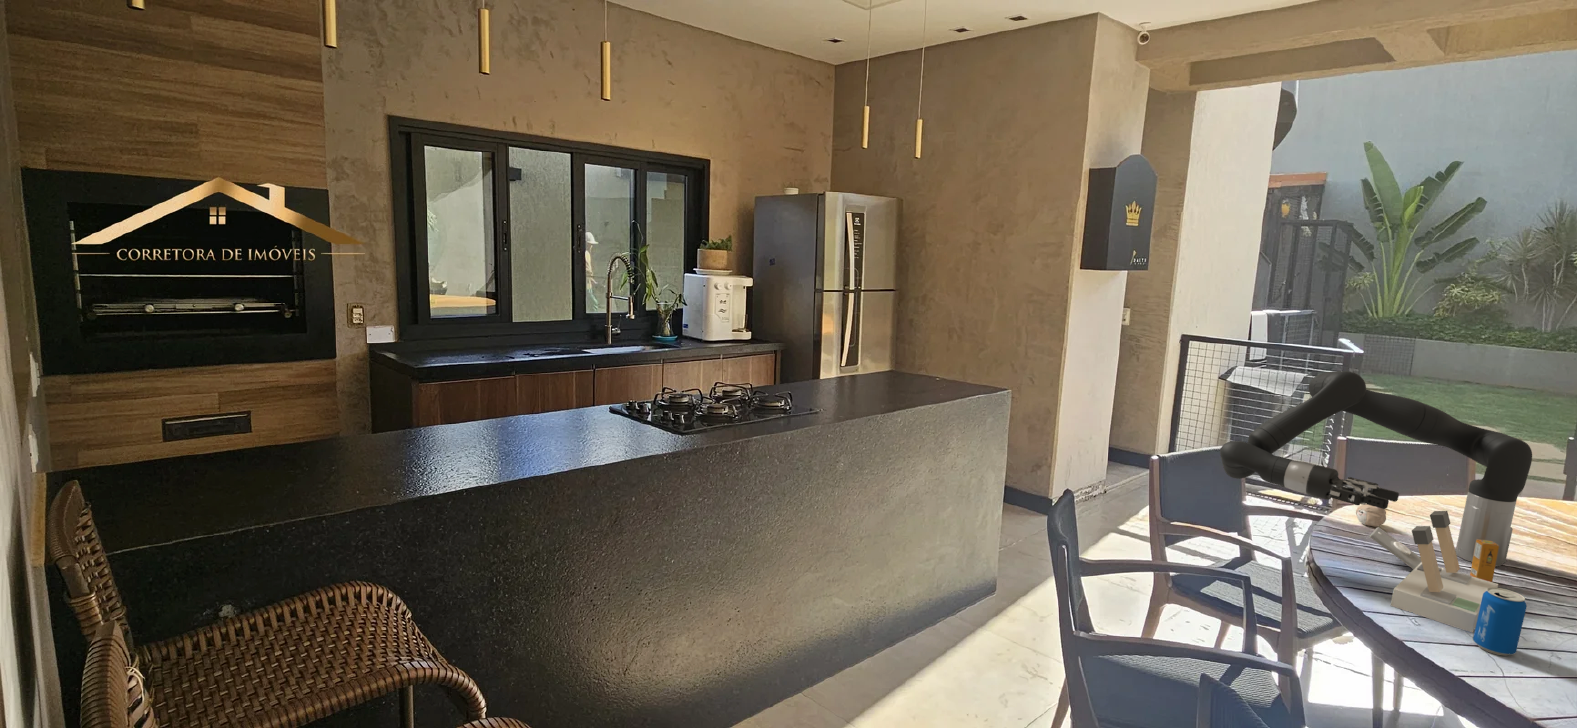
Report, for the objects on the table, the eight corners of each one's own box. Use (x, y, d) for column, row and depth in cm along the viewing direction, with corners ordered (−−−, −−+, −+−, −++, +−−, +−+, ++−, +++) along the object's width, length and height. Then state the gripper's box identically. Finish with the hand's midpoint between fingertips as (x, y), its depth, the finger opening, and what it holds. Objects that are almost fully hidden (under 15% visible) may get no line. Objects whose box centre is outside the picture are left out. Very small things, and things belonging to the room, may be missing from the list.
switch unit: (1390, 605, 171) (1394, 586, 171) (1418, 577, 186) (1421, 559, 186) (1472, 632, 161) (1476, 612, 160) (1494, 600, 176) (1498, 581, 175)
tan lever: (1426, 591, 167) (1411, 530, 169) (1431, 586, 170) (1416, 526, 171) (1440, 592, 166) (1425, 530, 167) (1445, 587, 168) (1430, 525, 169)
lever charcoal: (1444, 572, 177) (1429, 514, 179) (1448, 567, 180) (1434, 510, 181) (1457, 573, 176) (1442, 514, 177) (1462, 568, 178) (1447, 510, 180)
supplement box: (1484, 578, 187) (1493, 540, 185) (1492, 584, 184) (1500, 545, 182) (1467, 576, 188) (1476, 538, 186) (1475, 582, 185) (1483, 543, 183)
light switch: (1427, 571, 186) (1374, 531, 193) (1411, 585, 189) (1358, 545, 196) (1433, 562, 192) (1380, 524, 199) (1416, 576, 194) (1365, 538, 201)
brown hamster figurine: (1358, 526, 218) (1363, 500, 216) (1351, 519, 223) (1356, 493, 222) (1386, 531, 215) (1391, 504, 214) (1379, 523, 221) (1384, 496, 219)
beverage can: (1463, 640, 158) (1475, 586, 155) (1492, 639, 158) (1504, 586, 156) (1494, 657, 151) (1507, 601, 149) (1524, 657, 152) (1537, 601, 150)
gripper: (1303, 469, 179) (1388, 491, 167) (1323, 459, 188) (1404, 479, 176) (1297, 499, 181) (1380, 523, 169) (1317, 488, 190) (1397, 510, 178)
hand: (1393, 500), depth 172 cm, fingers open, 8 cm apart
